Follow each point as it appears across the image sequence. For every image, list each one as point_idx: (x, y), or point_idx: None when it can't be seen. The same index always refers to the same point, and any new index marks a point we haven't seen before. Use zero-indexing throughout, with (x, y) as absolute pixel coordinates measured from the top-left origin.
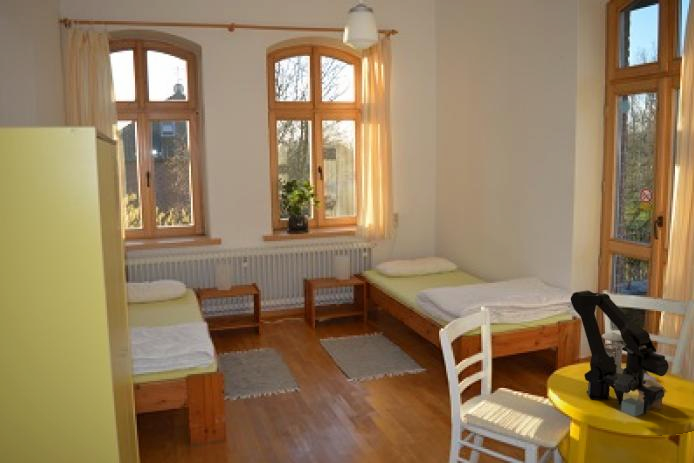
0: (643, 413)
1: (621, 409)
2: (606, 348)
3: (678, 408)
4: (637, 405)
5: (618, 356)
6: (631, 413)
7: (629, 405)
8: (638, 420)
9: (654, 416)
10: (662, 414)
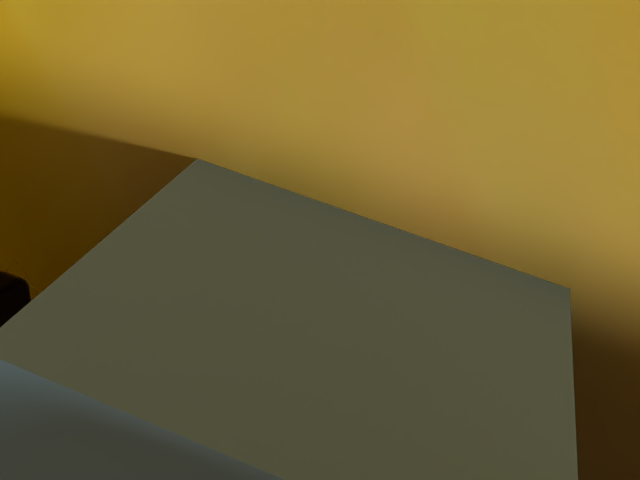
0: (2, 283)
1: (561, 320)
2: None
3: None
4: (4, 437)
5: None
6: (250, 213)
7: (235, 389)
8: (29, 7)
9: None
10: None
